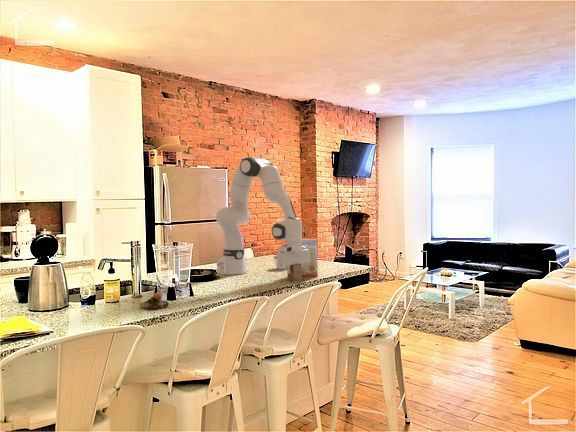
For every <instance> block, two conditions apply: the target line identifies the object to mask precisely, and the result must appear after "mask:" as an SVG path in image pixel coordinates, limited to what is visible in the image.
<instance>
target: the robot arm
mask: <svg viewBox="0 0 576 432" xmlns="http://www.w3.org/2000/svg"><path fill="white" fill-rule="evenodd" d="M254 178H259V179H260V180H261V183H262V184H261V185H262V190H263V194H264V196H265V197H266V199H268V200H269V201H270V202H273V203H275V204H277V205H278V206H280V208H281V209H282V212H283V214H284V217H285V219H283V220H282V221H279V222H277V223H274V224H273V225H272V228H271V235H272V237H273V238H274V239H275V240H277V241H285V243H284V244H283V245H280V246H278V247H277V251H278V252H277V255H278V256H277V264H278V265H279V266H286V268H287V269H286V270H288V274H291V273H292V270H290V268H289V267H290V265H295V264H302V267H303V264H304V263H310V261H311V258H310V249H309V247H308V246H302V239H303V238H302V237H303V224H302V220H301V218H300V217H297V214H296V212H295V208H294V205H293V203H292V200H291V197H290V196H289V195H288V194H287V191H286V189H285V186H284V184H283V179H282V176H281V174H280V170H279V168H278V166H276V165H274V164H273V162H272V161H270V160H269V159H267V158H262V157H251V156H250V157H249V156H248V157H245V158H243V159H242V160H241V161H240V164H239V166H237V167H236V170H235V172H234V173H233V177H232V180H231V184H230V188H229V193H228V196H229V198H230V201H231V204H230V206H226V207H223V208H220V209H218V211H217V212H216V214H215V220H216V222H217V224H219V225H220V227H221V230H222V232H223V238H224V239H223V241H224V249H223V250H222V256H221V258H220V259H218V261H217V262H216V268H215V269H213V270H216V272H217V274H218V275H221V276H223V275H225V276H226V275H231V276H233V275H234V276H235V275H243V274H246V273H247V272H249V268H247V258H246V257H245V248H244V235H243V234H242V233H241V231H240V228H239V226H240V225H244V224H247V222H249V220H250V219H251V213H250V210H249V207H248V199H249V195H250V190H251V186H252V182H253V180H254ZM307 247H308V248H307ZM216 272H215V273H216Z"/></svg>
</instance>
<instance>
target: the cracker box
mask: <svg viewBox="0 0 576 432" xmlns="http://www.w3.org/2000/svg"><path fill="white" fill-rule="evenodd" d="M302 246H308V247H309V249H310V258H311V261H310V263H304V264H303V267H302V277H317V276H318V275H319V274H318V271H319V270H318V265H319V263H318V238H302ZM308 247H307V248H308Z"/></svg>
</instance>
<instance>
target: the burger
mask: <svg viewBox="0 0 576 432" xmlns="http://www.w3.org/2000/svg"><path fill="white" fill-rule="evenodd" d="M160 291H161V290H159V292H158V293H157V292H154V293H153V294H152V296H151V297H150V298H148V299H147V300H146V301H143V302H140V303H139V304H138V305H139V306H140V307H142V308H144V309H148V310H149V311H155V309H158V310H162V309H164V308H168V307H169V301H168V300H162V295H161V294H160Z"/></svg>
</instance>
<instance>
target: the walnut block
mask: <svg viewBox="0 0 576 432" xmlns="http://www.w3.org/2000/svg"><path fill="white" fill-rule="evenodd" d="M289 268H290V270H292V273H291V274H288V270H287V269H286V270H287V273H286V274H287V278H286V279H287V280H290V281H289V282H292V281H294V282H293V283H296V282H295V281H298V282H302V281H303V279H302V278H303V276H302V264H295V265H290V267H289ZM301 280H302V281H301Z"/></svg>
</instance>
